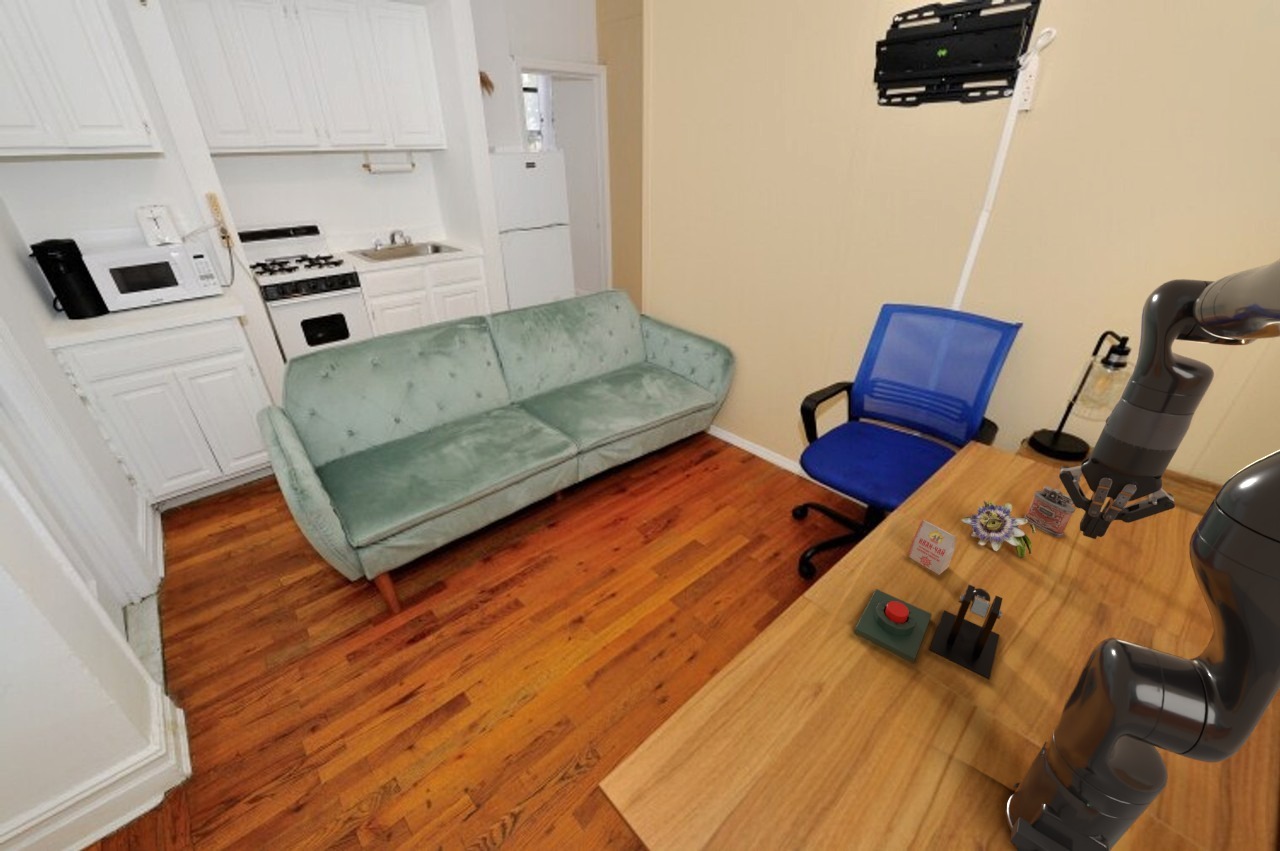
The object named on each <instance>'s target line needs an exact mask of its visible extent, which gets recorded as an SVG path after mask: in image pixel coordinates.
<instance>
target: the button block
mask: <svg viewBox="0 0 1280 851" xmlns="http://www.w3.org/2000/svg"><path fill="white" fill-rule="evenodd" d="M891 601H897V602H900V603H902V604H904V605H905V606H906V607H907V608H908V610H909V614H908V617H907V620H906V622H904V623H895V622H893V621H891V620H890V619H888V618H887V616H886V614H885V610H886V607H887V604H888V603H889V602H891ZM931 619H932V613H931V612H929V611H927V610H924V609H922V608H920V607H918V606H915V605H913V604H911V603H909V602H906V601H904V600H902V599H900V598H898V597H896V596H893V595H891V594H889V593H886V592H884V591H883V590H880V589H877V588H876V589H875V590H874V592H873V594H872V596H871V598H870V599H869V601H868V603H867V605H866V607H865V608H864V611H863V613H862V614H861V616H860V618H859V620H858V622H857V624H856V625H855V627H854V631H853V634H854V635H857V636H858V637H860V638H863V639H865V640H866V641H868V642H870V643H872V644H874V645H876V646H878V647H880V648H882V649H884V650H886V651H888V652H890V653H892V654H894V655H896V656H898V657H900V658H901V659H904V660H905V661H907V662H909V663H911V664H914V662H915V660H916V658H917V655H918V652H919V649H920V647H921V644H922V641H923V639H924V637H925V634H926V631H927V629H928V626H929V623H930V620H931Z"/></svg>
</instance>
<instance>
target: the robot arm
mask: <svg viewBox="0 0 1280 851" xmlns="http://www.w3.org/2000/svg"><path fill="white" fill-rule="evenodd" d="M1141 312H1142V313H1141V320H1140V322H1141V323H1140V341H1139V347H1138V353H1137V357H1136V362H1135V365H1134V369H1133V370H1132V373H1131V375H1130V377H1129V379H1128V382H1127V383H1126V386H1125V388H1124V390H1123V392H1122V394H1121V396H1120V398H1119V399H1118V401H1117V402H1116V404H1115V405H1114V407H1113V408H1112V410H1111V411H1110V414H1109V415H1108V416H1107V418H1106V420H1105V424H1104V426H1103V428H1102V430H1101V433H1100V435H1099V436H1098V439H1097V441H1096V443H1095V445H1094V447H1093V450H1092V452H1091V453H1090V455H1089V457H1087V458H1086V459H1084V460H1083V461H1082V462H1081V464H1080V465H1077V466H1072V467H1070V466H1068V465H1063V466H1060V469H1059V475H1058V477H1059V479H1060V481H1061V484H1062V485H1063V487H1064V488H1065V491H1066V493H1067V494H1068V496H1070V498H1071V500H1072V501H1073V503H1074V504H1073V505H1074V508H1077V509H1081V510H1083V511H1084V514H1083V516H1082V518H1081V520H1080V522H1079V532H1082V536H1083V537H1086V538H1089V539H1090V538H1091V539H1092V540H1096V539H1097V537H1099V538H1102V537H1104V536H1105V535H1106V533H1107V531H1108V529H1109V527H1110V525H1111V523H1112V522H1114V521H1122V522H1123V523H1126V524H1127V523H1129V524H1130V523H1133V522H1136V521H1139V520H1142V519H1145V518H1148V517H1151V516H1155V515H1157V514H1160V513H1164V512H1166V511H1169V510H1172V509H1174V508H1175V506H1176V504H1175V503H1176V502H1175V498H1174V495H1173V494H1172V493H1170V492H1167V491H1166V490H1164V488H1163V480H1162V478H1163V476H1164V474H1165V472H1166V470H1167V468H1168V466H1169V465H1170V463H1171V461H1172V460H1173V458H1174V456H1175V454H1176V452H1177V450H1178V449H1179V447H1180V445H1181V444H1182V442H1183V440H1184V438H1185V436H1186V434H1188V430H1189V429H1190V426H1191V423H1192V421H1193V418H1194V416H1195V413H1196V411H1197V409H1198V408H1199V406H1200V404H1201V402H1202V401H1203V398H1204V397H1205V395H1206V393H1207V391H1208V390H1209V388H1210V386H1211V384H1212V382H1213V381H1214V378H1215V371H1214V369H1213V368H1212V366H1210V365H1209V364H1207V363H1205V362H1203V361H1200V360H1198V359H1195V358H1192V357H1187V356H1184V355H1181V354H1178V353H1175V352H1173V348H1172V347H1173V344H1174V342H1175V341H1181V342H1183V341H1184V342H1190V343H1191V342H1192V343H1199V344H1209V345H1218V346H1246V345H1251V344H1252V343H1254V342H1255V341H1257V340H1259V339H1271V338H1280V258H1279V259H1277V260H1275V261H1273V262H1271V263H1268V264H1265V265H1260V266H1256V267H1253V268H1252V267H1251V268H1249V269H1245V270H1242V271H1238V272H1234V273H1232V274H1228V275H1226V276H1224V277H1221V278H1219V279H1217V280H1202V279H1186V278H1178V279H1172V280H1168V281H1166V282H1163V283H1162V284H1160V285H1159V286H1157V287H1156V288H1155V289H1153V291H1151V293H1149V295H1148V296H1147V298H1146V299H1145V302H1144V304H1143V307H1142V311H1141ZM1082 475H1083V478H1084V479H1085V482H1086V483H1087V485H1088V487H1089V490H1091V492H1092V494H1091V497H1090V499H1089V498H1088V497H1087V496H1086V494H1085V493H1084V491H1083V489H1082V487H1081V485H1080V483H1079V482H1080V481H1081V476H1082ZM1146 496H1147V498H1146V499H1144V500H1140V501H1138V502H1134V503H1132V504H1128V505H1127V503H1128V502H1133V501H1135V500H1139V499H1141V498H1144V497H1146ZM1107 498H1109V499H1108V501H1107V502H1106V500H1107ZM1105 502H1106V504H1105ZM1102 508H1103V509H1102ZM1188 545H1189V546H1188V547H1189V548H1188V551H1189V560H1190V564H1191V567H1192V570H1193V574H1194V577H1195V579H1196V582H1197V584H1198V586H1199V589H1200V591H1201V594H1202V596H1203V599H1204V601H1205V603H1206V606H1207V610H1208V611H1209V615H1210V619H1211V622H1212V629H1213V631H1212V635H1211V637H1210V639H1209V642H1208V643H1207V645H1206V647H1205V648H1204V650H1203V651H1202V652H1201V653H1200V654H1199V655H1198V656H1196V657H1193V658H1190V659H1189V658H1185V657H1182V656H1180V655H1175V654H1172V653H1169V652H1165V651H1161V650H1159V649H1155V648H1152V647H1149V646H1145V645H1142V644H1138V643H1135V642H1131V641H1127V640H1123V639H1120V638H1114V637H1110V638H1109V637H1108V638H1105V639H1102V640H1101V641H1099V642H1098V643H1097V644H1096V645H1095V646H1094V647H1092V648H1091V651H1090V652H1089V653H1088V655H1087V658H1086V659H1085V660H1084V663H1083V666H1082V667H1081V670H1080V672H1079V674H1078V677H1077V679H1076V680H1075V682H1074V684H1073V686H1072V689H1071V690H1070V692H1069V694H1068V696H1067V698H1066V699H1065V702H1064V704H1063V708H1062V711H1061V712H1060V713H1061V714H1060V717H1059V719H1058V721H1057V723H1056V724H1055V726H1054V728H1053V730H1052V731H1051V733H1050V734H1049V735H1048V738H1047V739H1046V741H1045V742H1044V744H1043V745H1042V746H1041V748H1040V749H1039V752H1038V753H1037V755H1036V756H1035V758H1034V760H1033V762H1032V763H1031V765H1030V766H1029V768H1028V770H1027V771H1026V773H1025V775H1024V776H1023V777H1022V779H1021V781H1019V782H1017V783H1015V785H1014V786H1013V789H1015V791H1014V793H1013V794H1012V795H1010V796H1009V798H1008V800H1007V802H1006V805H1005V809H1004V810H1005V811H1004V812H1005V820H1006V823H1007V827H1008V829H1009V831H1010V833H1011V834H1010V835H1011V836H1010V843H1012V844H1013V845H1015V849H1016V851H1111V850H1112V849H1113V848H1114V847H1115V845H1117V843H1118V842H1119V841H1120V840H1121V839H1122V837H1124V835H1126V833H1127V832H1128V831H1129V830H1130V828H1132V826H1133V825H1134V824H1135V822H1137V821H1138V820H1139V818H1140V817H1141V816H1142V815H1143V814H1144V813H1145V812H1146V810H1147V809H1148V808H1149V807H1151V805H1153V802H1154V801H1155V800H1156V799H1157V798H1158V797H1159V796H1160V795H1161V794H1162V792H1163V791H1164V790H1165V788H1166V787H1167V784H1168V778H1169V774H1168V768H1167V766H1166V765H1167V764H1166V763H1165V760H1164V758H1163V757H1162V754H1161V753H1160V752H1159V750H1158V749H1157V748H1159V749H1162V750H1163V751H1167V752H1169V753H1173V754H1176V755H1179V756H1182V757H1184V758H1186V759H1187V758H1188V759H1191V760H1195V761H1199V762H1202V763H1203V762H1205V763H1220V762H1223V761H1226V760H1227V759H1230V758H1231V757H1232V756H1233V755H1235V754H1236V753H1237V752H1238V751H1239V750H1240V749H1241V748H1242V747H1243V746H1244V744H1245V743H1246V742H1247V741H1248V739H1249V738H1250V736H1251V735H1252V733H1253V732H1254V730H1255V729H1256V727H1257V725H1258V724H1259V722H1260V720H1261V719H1262V718H1263V716H1264V714H1265V712H1266V711H1267V709H1268V708H1269V706H1270V705H1271V703H1272V701H1273V700H1274V697H1275V696H1276V695H1277V693H1278V691H1279V690H1280V449H1278V450H1276V451H1274V452H1272V453H1269V454H1268V455H1266V456H1264V457H1262V458H1260V459H1257V460H1256V461H1254V462H1252V463H1250V464H1248V465H1246V466H1244V467H1243V468H1242V469H1240V470H1239V471H1237V472H1236V473H1235V474H1233V475H1232V476H1231V477H1230V478H1229V479H1227V481H1226V482H1225V483H1224V484H1222V486H1221V488H1220V489H1218V492H1217V493H1216V495H1215V497H1214V498H1213V500H1212V501H1211V503H1210V504H1209V506H1208V508H1207V509H1206V511H1205V512H1204V514H1203V516H1202V518H1201V519H1200V520H1199V522H1198V524H1197V525H1196V527H1195V529H1194V531H1193V533H1192V534H1191V536H1190V540H1189V544H1188Z"/></svg>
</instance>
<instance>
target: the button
mask: <svg viewBox="0 0 1280 851" xmlns="http://www.w3.org/2000/svg"><path fill="white" fill-rule="evenodd" d="M885 614H886V616H887V618H888V619H890V620H891V621H893V622H895V623H904V622H906V620H907V617H908V614H909V610H908V608H907V607H906V606H905V605H904V604H902V603H900V602H897V601H891V602H889V603H888V604H887V607H886V610H885Z"/></svg>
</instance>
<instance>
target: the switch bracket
mask: <svg viewBox="0 0 1280 851" xmlns="http://www.w3.org/2000/svg"><path fill="white" fill-rule="evenodd" d="M975 589H976V587H975V586H973V585H972V584H968V585H967V587H966V590H965V592H964V594H960V596H959V599H958V603H960V605H959V608H958V610H957V613H956V614H954V613H951V612H949V611H947V610H945V609H944V610H943V612H942V614H941V617H940V620H939V622H938V625H937V627H936V630H935V634H934V635H933V638H932V641H931V644H930V647H929V651H930V652H932V653H933V654H936V655H938V656H940V657H942V658H944V659H946V660H948V661H950V662H952V663H954V664H956V665H958V666H960V667H962V668H964V669H967V670H968V671H971V672H972V673H974V674H976V675H979V676H980V677H982V678H985V679H987V680H990V679H991V676H992V675H991V674H992V670H993V666H994V662H995V656H996V652H997V648H998V643H999V639H1000V634H999V633H996V631H995V632H994V631H993V629H994V626H995V624H996V622H997V619H998V620H1000V619H1001V618H1002V615H1003V611H1002V610H1001V608H1002V607H1001V606H1002V603H1003V597H1000V596H998V595H995V596H994V599H993V600H992V603H991V604H990V606H989V609H988V612H987V614H986V617H985V619H984V620H983V624H982V626H981V625H978V624H976V623H974V622H971V621H970V620H967V619H965V617H966V615H967V612H968V609H970V608H969V607H970V605H971V604H972V603H971V602H972V601H971V599H972V596H973V593H974V590H975Z"/></svg>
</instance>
